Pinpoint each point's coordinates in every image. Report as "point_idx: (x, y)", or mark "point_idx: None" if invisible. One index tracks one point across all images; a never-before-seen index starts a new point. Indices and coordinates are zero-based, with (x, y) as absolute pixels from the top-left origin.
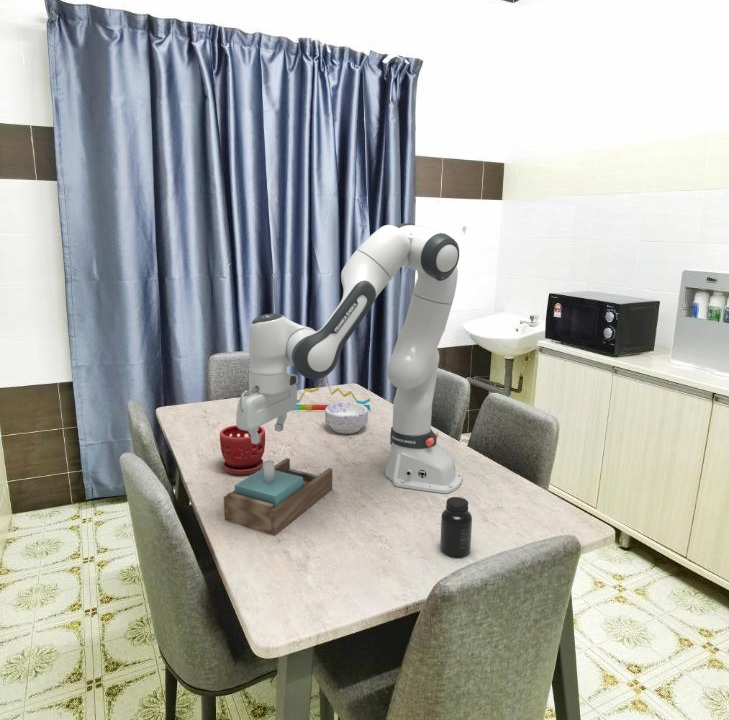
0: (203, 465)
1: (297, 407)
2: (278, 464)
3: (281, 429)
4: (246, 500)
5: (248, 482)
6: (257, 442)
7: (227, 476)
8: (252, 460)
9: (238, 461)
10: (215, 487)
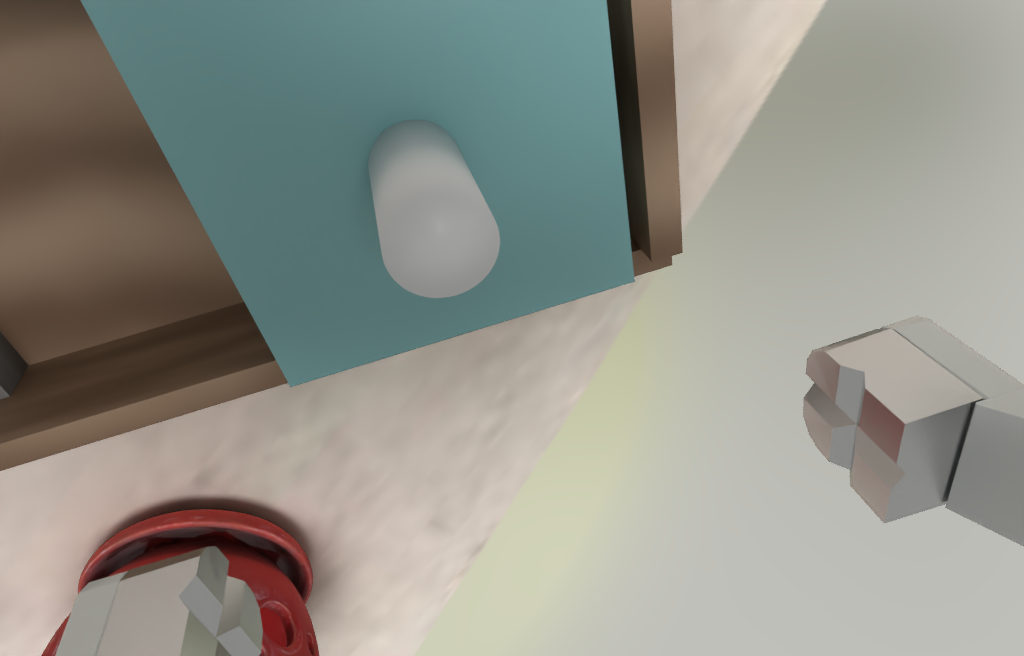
0: (346, 643)
1: None
2: (89, 430)
3: (157, 581)
4: (672, 92)
5: (545, 256)
6: (934, 325)
7: (321, 534)
8: None
9: (272, 584)
10: (430, 478)
